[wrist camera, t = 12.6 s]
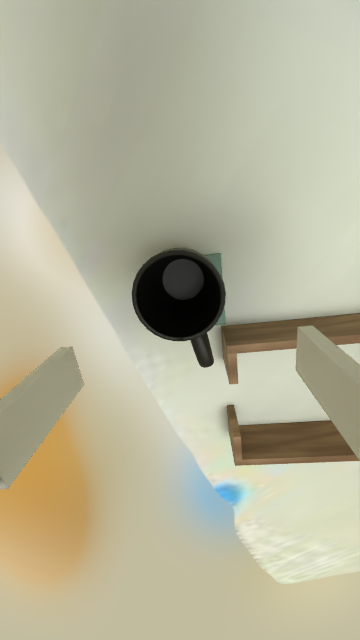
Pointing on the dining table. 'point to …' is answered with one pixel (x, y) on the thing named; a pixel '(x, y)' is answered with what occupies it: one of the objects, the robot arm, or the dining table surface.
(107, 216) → the dining table surface
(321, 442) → the wooden tray frame
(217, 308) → the mug
